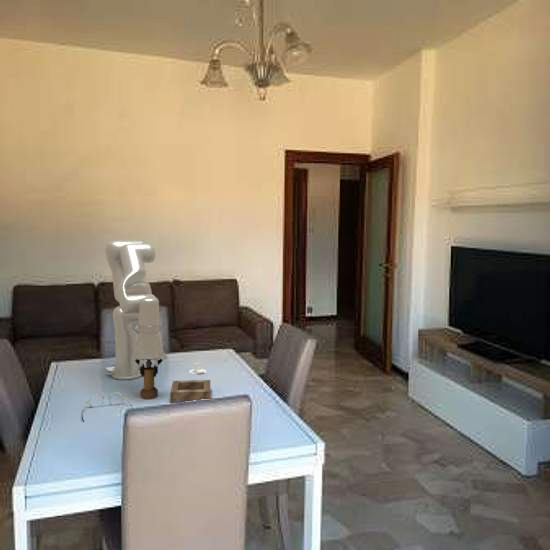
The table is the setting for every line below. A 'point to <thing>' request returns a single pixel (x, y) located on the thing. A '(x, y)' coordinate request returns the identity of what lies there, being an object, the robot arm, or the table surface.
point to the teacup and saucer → (198, 369)
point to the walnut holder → (189, 390)
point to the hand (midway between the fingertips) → (149, 375)
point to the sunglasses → (103, 399)
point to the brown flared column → (149, 382)
